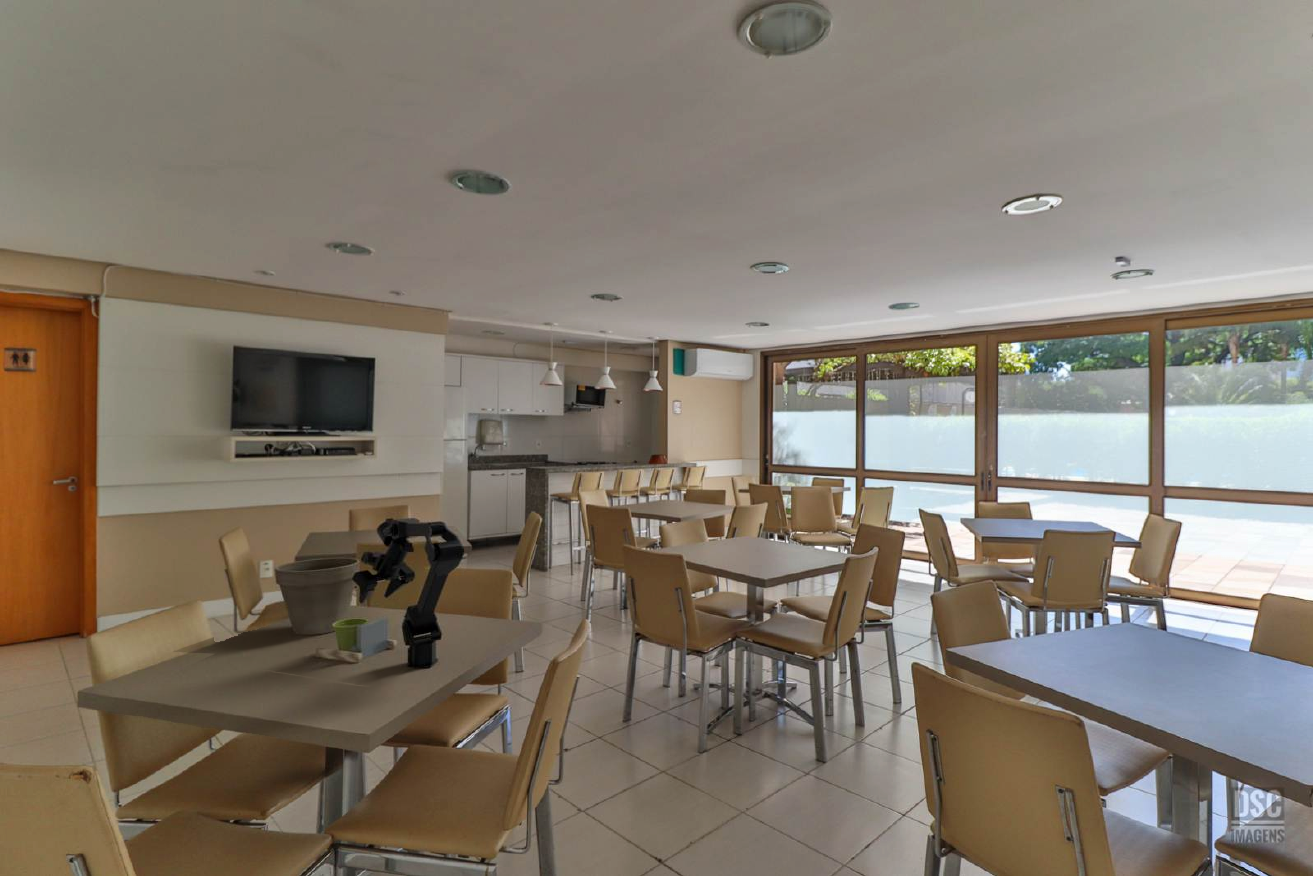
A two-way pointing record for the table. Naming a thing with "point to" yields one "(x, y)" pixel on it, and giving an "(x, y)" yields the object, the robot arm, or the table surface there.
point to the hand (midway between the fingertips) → (373, 599)
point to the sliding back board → (372, 638)
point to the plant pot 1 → (317, 592)
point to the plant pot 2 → (347, 632)
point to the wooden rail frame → (347, 653)
